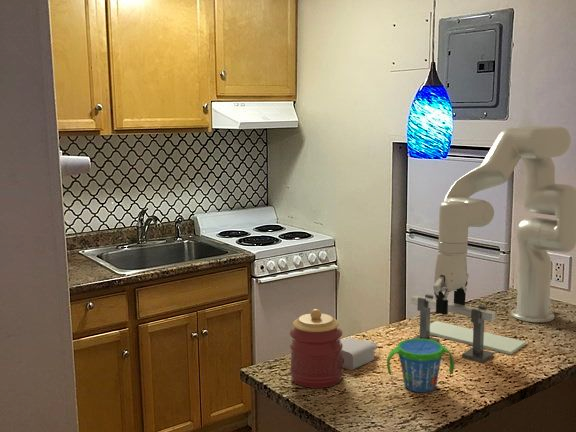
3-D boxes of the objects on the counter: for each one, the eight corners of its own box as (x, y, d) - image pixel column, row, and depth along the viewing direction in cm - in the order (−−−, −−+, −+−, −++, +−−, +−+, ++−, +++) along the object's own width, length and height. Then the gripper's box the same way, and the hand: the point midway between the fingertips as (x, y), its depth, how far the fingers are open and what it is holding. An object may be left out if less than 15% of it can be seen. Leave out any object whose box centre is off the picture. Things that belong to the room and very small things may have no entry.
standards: (420, 337, 182) (421, 292, 180) (493, 356, 168) (495, 307, 165) (409, 343, 178) (410, 297, 176) (483, 363, 163) (485, 312, 161)
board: (436, 323, 195) (436, 320, 194) (525, 344, 176) (525, 341, 176) (419, 331, 187) (419, 329, 187) (510, 354, 169) (510, 351, 168)
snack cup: (387, 395, 146) (388, 353, 144) (385, 376, 156) (386, 337, 154) (456, 397, 144) (458, 355, 142) (450, 378, 154) (451, 338, 153)
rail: (415, 301, 180) (415, 295, 180) (495, 319, 164) (495, 311, 164) (410, 303, 178) (410, 296, 178) (491, 321, 162) (491, 313, 162)
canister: (353, 380, 154) (353, 311, 151) (309, 394, 147) (308, 321, 144) (322, 363, 165) (322, 298, 162) (280, 375, 158) (279, 307, 155)
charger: (388, 355, 170) (353, 371, 160) (361, 346, 177) (325, 362, 166) (388, 338, 170) (353, 353, 159) (361, 330, 176) (325, 344, 166)
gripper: (455, 241, 177) (453, 300, 180) (423, 250, 164) (421, 314, 167) (480, 244, 172) (478, 305, 175) (449, 254, 159) (447, 319, 162)
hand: (450, 309), depth 171 cm, fingers open, 9 cm apart
